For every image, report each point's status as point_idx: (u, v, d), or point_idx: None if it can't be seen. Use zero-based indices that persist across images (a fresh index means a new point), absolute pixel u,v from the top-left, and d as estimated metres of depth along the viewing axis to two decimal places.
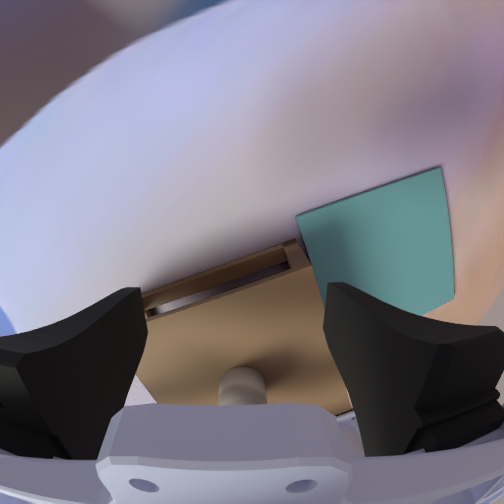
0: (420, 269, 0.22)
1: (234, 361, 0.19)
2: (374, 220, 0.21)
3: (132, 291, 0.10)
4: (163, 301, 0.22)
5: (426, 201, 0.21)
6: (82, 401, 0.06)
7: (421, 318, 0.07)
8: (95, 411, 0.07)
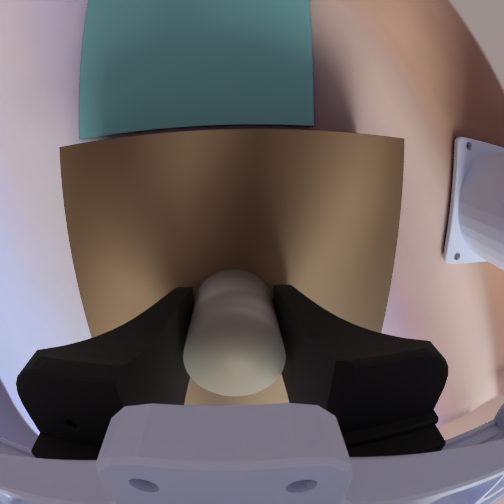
0: None
1: None
2: (116, 38, 0.12)
3: (188, 291, 0.10)
4: None
5: None
6: None
7: (351, 327, 0.07)
8: None
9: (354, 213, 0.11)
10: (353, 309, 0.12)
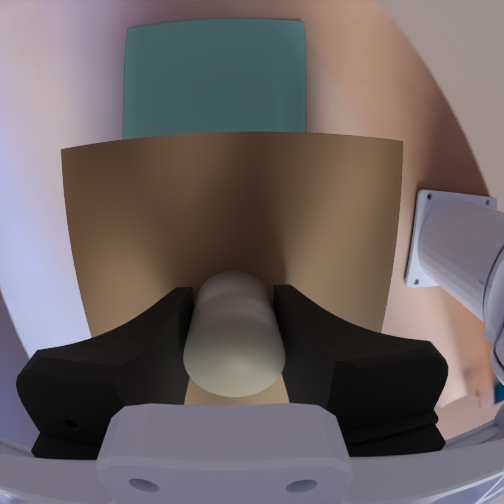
0: (235, 63, 0.17)
1: None
2: (152, 113, 0.18)
3: (188, 291, 0.10)
4: None
5: (155, 48, 0.17)
6: None
7: (351, 327, 0.07)
8: None
9: (353, 215, 0.11)
10: (353, 311, 0.12)
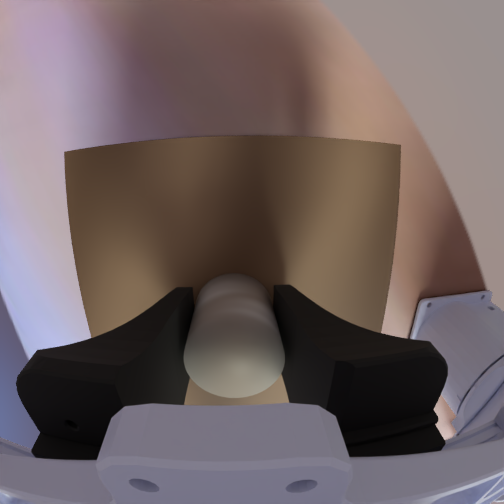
0: None
1: None
2: None
3: (188, 291, 0.10)
4: None
5: None
6: None
7: (351, 327, 0.07)
8: None
9: (352, 218, 0.11)
10: (352, 313, 0.13)
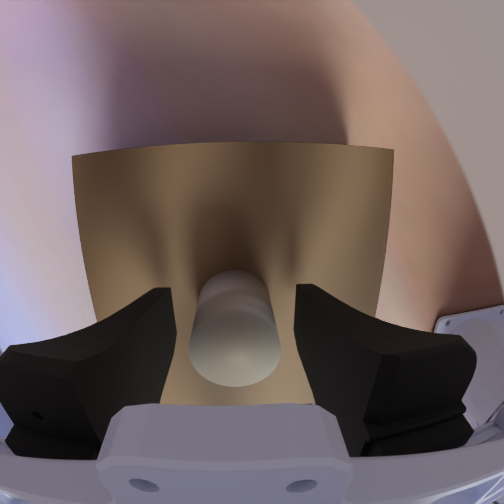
0: None
1: (187, 298, 0.13)
2: None
3: (165, 291, 0.10)
4: None
5: None
6: None
7: (382, 323, 0.07)
8: None
9: (346, 219, 0.12)
10: None
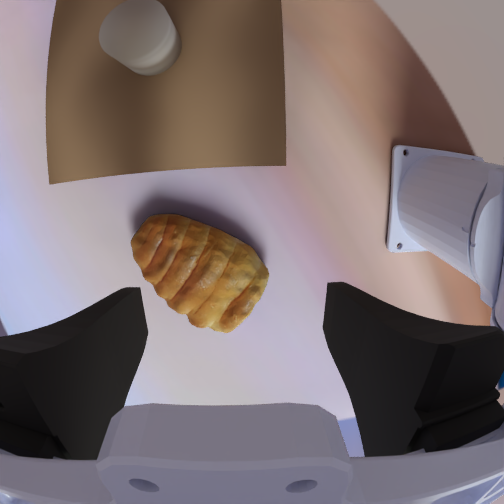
0: None
1: None
2: None
3: (132, 291, 0.10)
4: None
5: None
6: (82, 401, 0.06)
7: (421, 318, 0.07)
8: (95, 411, 0.07)
9: None
10: (251, 50, 0.13)
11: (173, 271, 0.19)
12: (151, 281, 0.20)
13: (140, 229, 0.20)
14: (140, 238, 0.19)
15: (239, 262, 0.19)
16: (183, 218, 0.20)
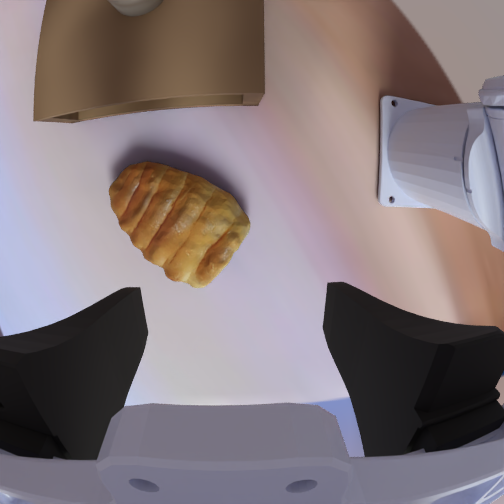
0: None
1: None
2: None
3: (132, 291, 0.10)
4: None
5: None
6: (82, 401, 0.06)
7: (421, 318, 0.07)
8: (95, 411, 0.07)
9: None
10: None
11: (148, 215, 0.18)
12: (127, 230, 0.19)
13: (119, 176, 0.18)
14: (117, 185, 0.18)
15: (216, 207, 0.18)
16: (162, 165, 0.19)
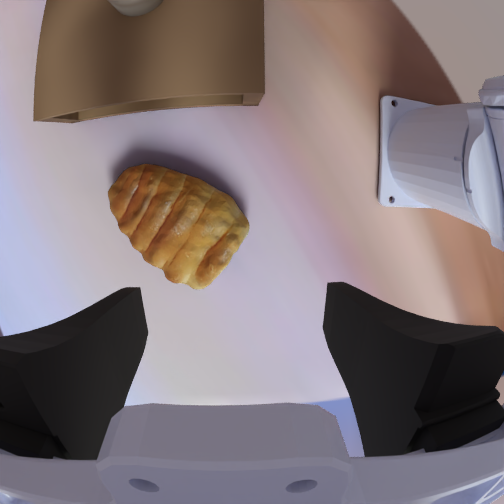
0: None
1: None
2: None
3: (132, 291, 0.10)
4: None
5: None
6: (82, 401, 0.06)
7: (421, 318, 0.07)
8: (95, 411, 0.07)
9: None
10: None
11: (147, 218, 0.18)
12: (126, 232, 0.19)
13: (117, 179, 0.18)
14: (117, 188, 0.18)
15: (215, 208, 0.18)
16: (160, 167, 0.19)
